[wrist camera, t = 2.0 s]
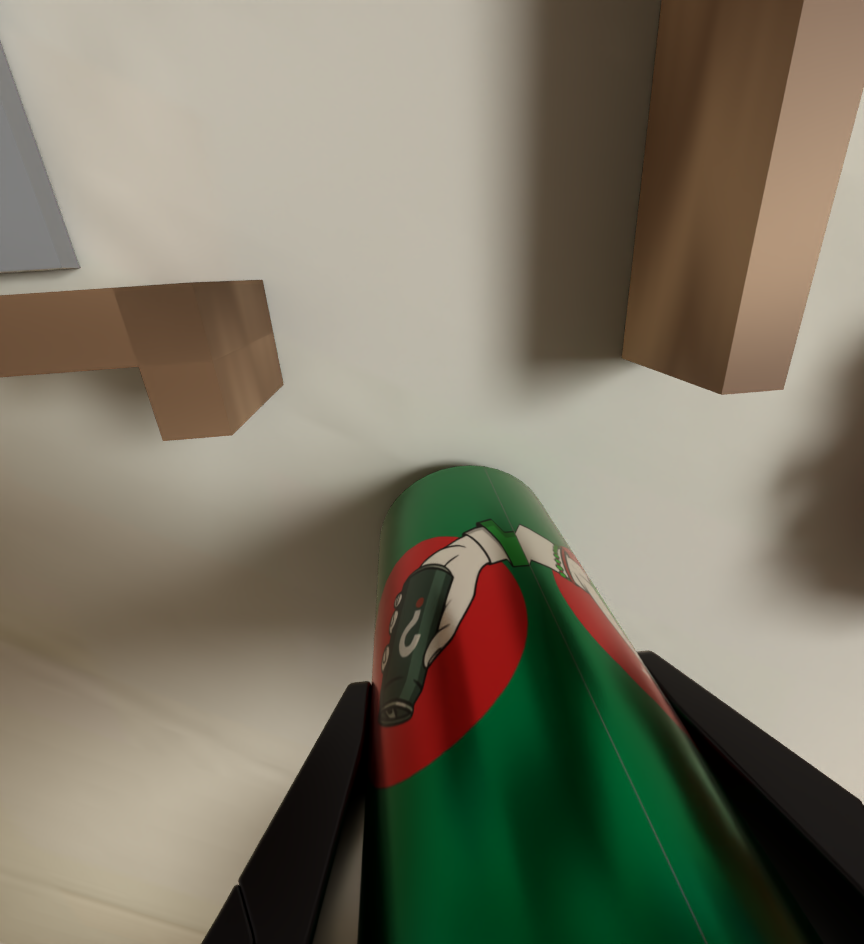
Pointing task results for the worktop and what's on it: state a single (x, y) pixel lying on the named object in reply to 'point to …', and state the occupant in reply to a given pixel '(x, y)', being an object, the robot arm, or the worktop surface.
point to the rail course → (656, 240)
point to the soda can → (534, 752)
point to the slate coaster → (26, 193)
